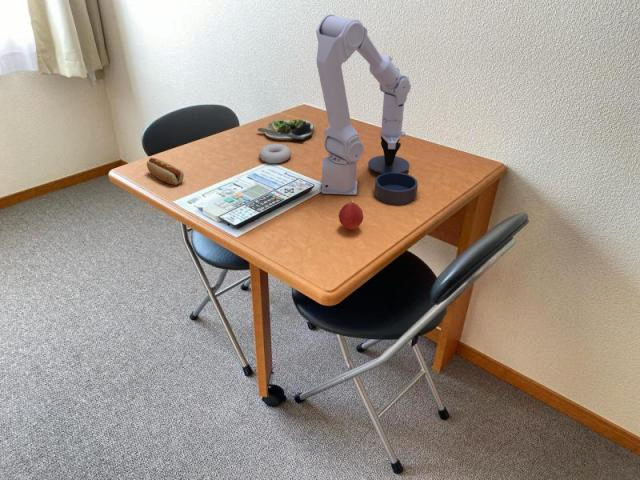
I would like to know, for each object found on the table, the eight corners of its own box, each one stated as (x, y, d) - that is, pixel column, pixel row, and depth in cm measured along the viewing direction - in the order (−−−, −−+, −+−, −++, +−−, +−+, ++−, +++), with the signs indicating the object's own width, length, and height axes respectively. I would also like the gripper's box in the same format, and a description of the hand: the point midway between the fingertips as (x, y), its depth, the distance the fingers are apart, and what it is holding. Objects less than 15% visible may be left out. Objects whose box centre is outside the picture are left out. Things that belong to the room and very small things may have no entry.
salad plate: (254, 143, 160) (252, 130, 158) (261, 123, 175) (260, 111, 172) (311, 144, 159) (311, 130, 157) (314, 124, 174) (314, 112, 172)
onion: (335, 233, 115) (335, 204, 110) (342, 221, 119) (343, 192, 115) (358, 237, 113) (360, 208, 109) (365, 225, 117) (367, 197, 113)
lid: (367, 175, 138) (368, 160, 135) (368, 157, 148) (368, 143, 145) (410, 177, 137) (412, 162, 134) (407, 159, 147) (409, 145, 144)
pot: (374, 203, 126) (375, 190, 124) (374, 184, 136) (375, 171, 133) (417, 205, 125) (419, 192, 123) (414, 185, 135) (415, 172, 132)
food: (144, 174, 141) (141, 159, 138) (160, 168, 144) (157, 153, 141) (172, 189, 133) (169, 173, 130) (188, 182, 137) (186, 166, 134)
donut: (255, 164, 147) (286, 166, 145) (254, 153, 145) (286, 155, 143) (265, 151, 155) (294, 153, 153) (264, 141, 153) (294, 142, 151)
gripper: (408, 127, 128) (403, 173, 135) (405, 109, 140) (401, 152, 147) (382, 126, 128) (378, 172, 136) (381, 108, 140) (378, 151, 148)
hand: (388, 162), depth 141 cm, fingers closed on lid, 2 cm apart
